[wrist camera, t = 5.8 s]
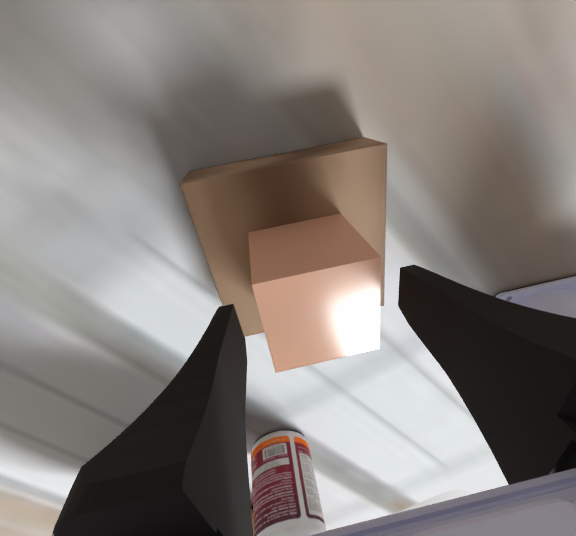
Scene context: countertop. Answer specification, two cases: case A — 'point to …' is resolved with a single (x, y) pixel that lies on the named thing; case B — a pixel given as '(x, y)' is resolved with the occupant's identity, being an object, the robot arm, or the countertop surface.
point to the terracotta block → (316, 291)
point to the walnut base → (283, 207)
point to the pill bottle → (284, 487)
